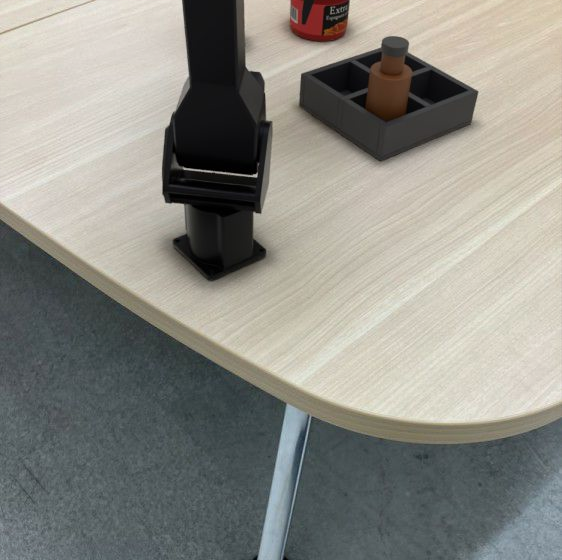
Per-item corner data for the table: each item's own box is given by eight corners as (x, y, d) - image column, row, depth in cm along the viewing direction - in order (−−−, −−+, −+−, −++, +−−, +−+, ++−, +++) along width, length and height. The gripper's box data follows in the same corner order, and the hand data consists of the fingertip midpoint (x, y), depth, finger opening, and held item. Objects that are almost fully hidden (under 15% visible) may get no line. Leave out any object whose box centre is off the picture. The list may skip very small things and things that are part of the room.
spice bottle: (410, 133, 87) (426, 44, 80) (381, 145, 85) (394, 55, 78) (383, 116, 90) (396, 28, 82) (354, 127, 88) (365, 38, 80)
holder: (471, 123, 91) (478, 91, 88) (380, 161, 85) (385, 127, 82) (387, 75, 98) (392, 43, 95) (298, 106, 92) (300, 73, 89)
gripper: (376, -177, 73) (358, -3, 85) (180, -193, 75) (188, -21, 86) (366, -144, 66) (347, 41, 77) (148, -164, 67) (161, 21, 79)
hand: (259, 18), depth 80 cm, fingers open, 9 cm apart
